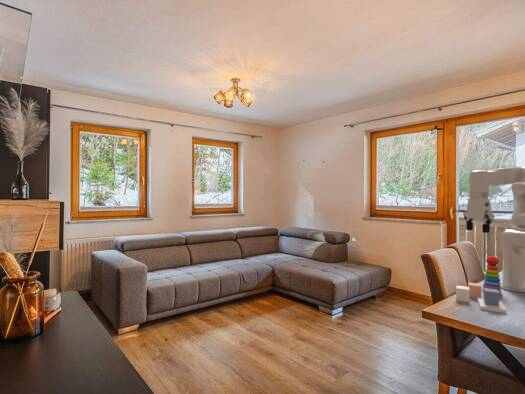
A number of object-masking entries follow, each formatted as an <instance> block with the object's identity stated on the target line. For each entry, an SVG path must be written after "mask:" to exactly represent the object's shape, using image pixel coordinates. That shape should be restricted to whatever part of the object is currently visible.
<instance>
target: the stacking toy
mask: <svg viewBox="0 0 525 394" xmlns="http://www.w3.org/2000/svg"><path fill="white" fill-rule="evenodd" d="M499 262H500V260H499V259H498V257H497V256H495V255H489V256H487V257H486V263H487V265H486V268H485V273H484V278H483V279H484V280H483V284H482V287H481V291H483V292H484V288H489V289H496V290H498V292H499V295H501V294H502V290H501V289H502V288H501V287H500V285H501V283H502V282H500V281H501V278H500V274H499V266H498V264H499Z"/></svg>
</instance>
